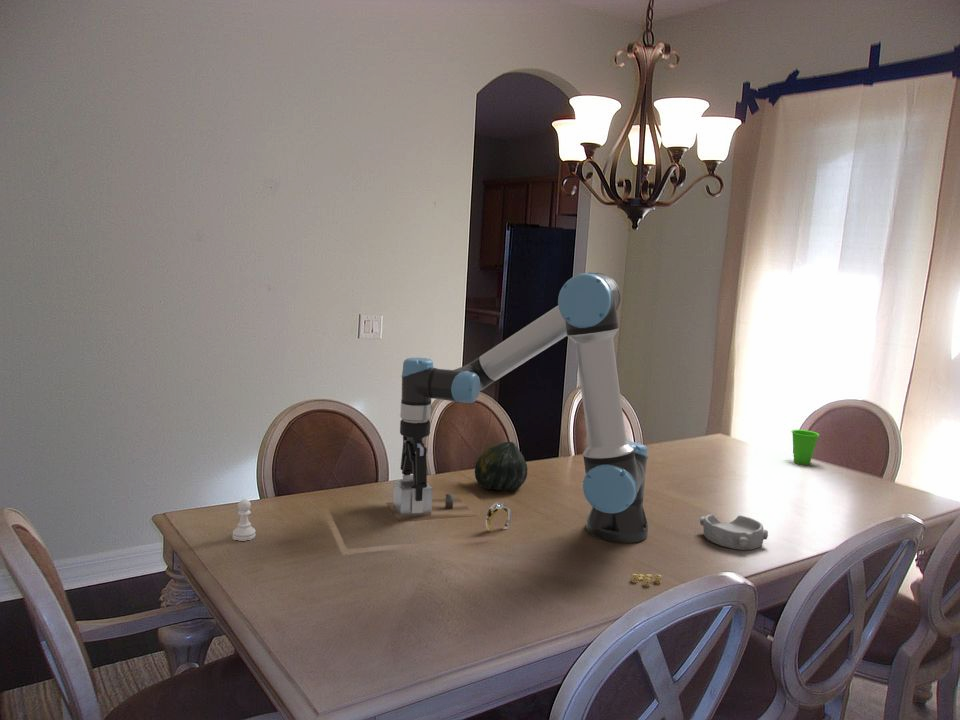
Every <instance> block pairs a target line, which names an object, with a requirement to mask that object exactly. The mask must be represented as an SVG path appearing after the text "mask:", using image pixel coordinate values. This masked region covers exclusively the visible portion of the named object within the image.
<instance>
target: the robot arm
mask: <svg viewBox="0 0 960 720" xmlns="http://www.w3.org/2000/svg"><path fill="white" fill-rule="evenodd" d="M557 297H558V299H557V304H558V305H556V306H555V307H553V308H552V309H550V310H549V311H547V312H545V313H544V314H543V315H541V316H540V317H538V318H536V319H535V320H533V321H532V322H530V323H529V324H527V325H526V326H524V327H523V328H520V330H518V331H517V332H515V333H513V334H512V335H510V336H509V337H508V338H505V340H503V341H502V342H500V343H498V344H496V345H495V346H494V347H492V348H491V349H489V350H488V351H486V352H484V353H482V355H480V356H479V357H477V358H474V359H473V360H472V361H471V362H469V363H467V364H466V365H464V366H461V367H457V368H455V369H446V368H445V369H443V368H436V367H434V361H433V360H432V359H430V358H426V357H409V358H406V359H405V360H403V362H402V363H403V364H402V373H401V400H400V401H401V402H400V414H399V415H400V418H401V420H400V421H399V422H400V423H399V426H400V427H399V434H400V435H402V450H401V451H402V452H401V458H400V468H399V469H400V470H401V473H402V480H406V479H413V481H414V486H411V489H412V510H411V512H412V513H422V512H423V494H424V488H426V487H427V483H428V481H427V479H428V478H427V475H428V473H427V452H428V449H427V447H425V443H424V441H423V439H424V438H426V437H429V435H430V434H431V421H430V419H431V414H432V413H431V411H432V410H433V405H432V399H433V400H442V401H449V402H457V403H459V404H460V403H461V404H463V403H467V404H468V403H469V404H472V403H474V402H476V401H477V399H478V397H479V396H480V392H482V391H484V390H485V389H487V388H488V386H490V385H491V384H493V383H494V382H496V381H498V380H499V379H501V378H502V377H504V376H506V375H507V374H508V373H510V372H512V371H513V370H515V369H517V368H518V367H519V366H521V365H523V364H525V363H526V362H527V361H529V360H530V359H531V360H532V358H534V357H536V356H537V355H539V354H540V353H542V352H543V351H545V350H547V349H548V348H550V347H551V346H553V345H555V344H557V343H558V342H560V341H561V340H563V339H564V338H566V337H568V338H569V339H570V340H571V341H572V342H573V343H574V346H575V353H576V359H577V361H576V362H577V369H578V377H579V383H580V391H581V392H580V393H581V399H582V406H583V413H584V421H585V429H586V437H587V442H588V446H587V447H586V448H585V450H584V451H583V453H582V455H583V457H582V458H583V463H584V465H583V466H584V471H585V475H584V477H583V481H582V490H583V495H584V497H585V500H586V502H587V503H588V504H589V505H590V506H591V508H590V511H589V513H588V516H587V518H586V526H585V529H586V531H587V532H588V533H589V534H590V535H591V536H593V537H595V538H598V539H601V540H604V541H608V542H613V543H623V544H626V543H627V544H629V543H630V544H631V543H637V542H641V541H644V540H645V539H646V538H647V537H648V533H649V524H648V520H647V517H646V516H647V515H646V512H645V508H644V498H645V497H644V494H645V485H646V484H645V483H646V469H647V460H648V458H649V457H648V448H647V446H646V445H644V444H643V443H639V442H635V441H628V440H627V438H626V430H625V421H624V414H623V407H622V398H621V390H620V383H619V375H618V367H617V360H616V358H617V357H616V353H615V352H616V351H615V350H616V349H615V344H614V337H615V335H617V333H618V331H619V329H620V328H619V322H618V311H617V310H619V307H620V304H621V290H620V288H619V285H618V283H616V281H615V280H614V279H613V278H612V277H611V276H609V275H607V274H604V273H601V272H582V273H579V274H576V275H574V276H572V277H571V278H570V279H568V280H567V281H566V282H564V284H563V285H562V287H561V289H560V290H559V294H558V296H557Z"/></svg>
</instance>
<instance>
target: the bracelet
mask: <svg viewBox="0 0 960 720" xmlns="http://www.w3.org/2000/svg"><path fill="white" fill-rule="evenodd" d="M500 510H503V511H504V513H505V515H506V522H505V524H504V526H502V530H507V529H508V528H509V527H510V524H511V523H512V511H511V509H510V507H509V506H507V505H505V502H504V501H503V502H502V503H500V501H497V502H495V503H493V504H492V505H491V506H490V508H489V509H488V511H487V514H486V517H485V526H486V529H487V530H488V531H489V532H490V533H492V532H494V530H493V529H492V527H491V522H492V519H493V517H494V516H496V515H497V513H499V512H500Z"/></svg>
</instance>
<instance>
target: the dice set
mask: <svg viewBox="0 0 960 720" xmlns="http://www.w3.org/2000/svg"><path fill="white" fill-rule="evenodd" d="M662 576H663V575H661V574H654V581H653V574H650V573H649V574H645V575H644V574H642V573H640V574H636V573H632V574H631V576H630V581H631V582H632V583H638V582H640V581H641V582H642V581H643V582H642V583H643V586H644V587H651V582H652V581H653V582H654V583H655V584H658V585H659V584H662V578H663V577H662Z"/></svg>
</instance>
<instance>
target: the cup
mask: <svg viewBox="0 0 960 720" xmlns="http://www.w3.org/2000/svg"><path fill="white" fill-rule="evenodd" d="M790 432H791V434H792V446H793V447H792V448H793V461H794V463H795V464H797V465H800V466H801V465H803V466H808V465H810V464H811V461H812V459H813V455H814V451H815V448H816V444H817V441H818V439H819V437H820V433H818V432H815V431H812V430H807V429H806V430H805V429H792V430H791V431H790Z"/></svg>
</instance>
